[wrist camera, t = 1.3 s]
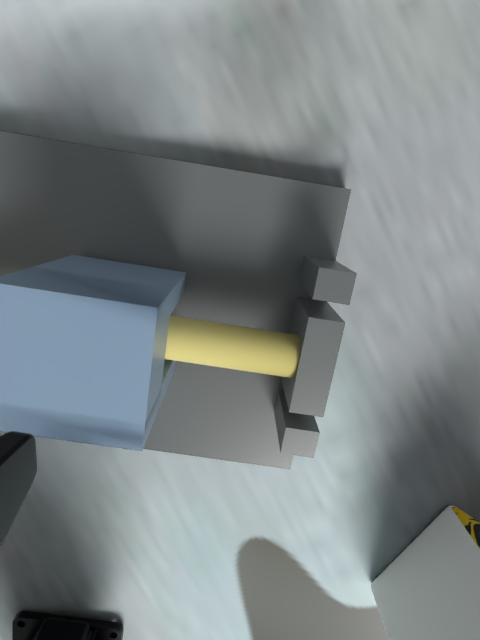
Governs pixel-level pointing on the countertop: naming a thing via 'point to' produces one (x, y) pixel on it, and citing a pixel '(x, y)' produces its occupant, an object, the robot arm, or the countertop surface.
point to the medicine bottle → (434, 583)
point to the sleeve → (86, 349)
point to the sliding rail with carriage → (201, 282)
